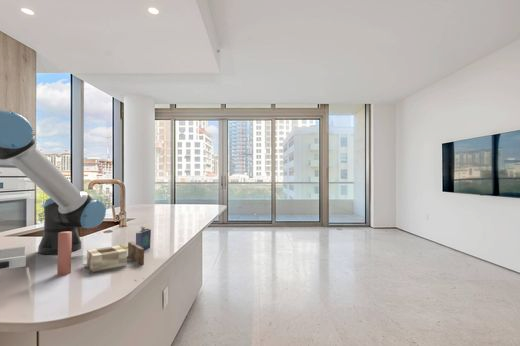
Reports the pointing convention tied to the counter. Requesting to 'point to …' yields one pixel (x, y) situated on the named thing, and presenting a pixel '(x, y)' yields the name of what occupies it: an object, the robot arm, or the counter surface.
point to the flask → (143, 238)
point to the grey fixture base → (132, 259)
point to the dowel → (64, 253)
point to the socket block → (106, 258)
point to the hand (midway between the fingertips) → (25, 255)
